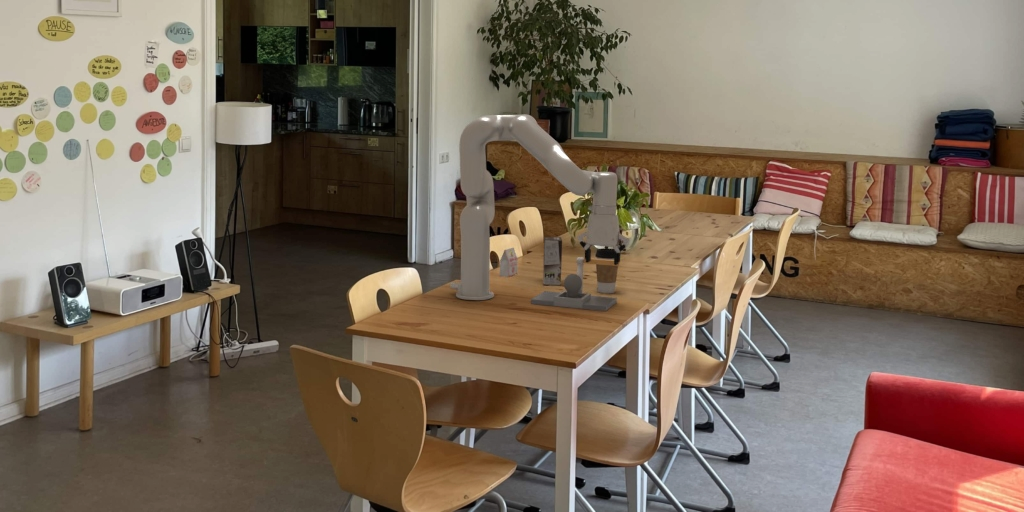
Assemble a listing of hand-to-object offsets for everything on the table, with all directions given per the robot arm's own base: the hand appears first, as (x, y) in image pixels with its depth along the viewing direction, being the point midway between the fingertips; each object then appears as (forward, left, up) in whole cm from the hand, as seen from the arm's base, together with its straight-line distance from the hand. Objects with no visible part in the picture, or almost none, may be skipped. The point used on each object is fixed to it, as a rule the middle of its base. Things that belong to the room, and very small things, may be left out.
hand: (602, 263), depth 308 cm
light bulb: (-8, -5, -14) cm, 17 cm away
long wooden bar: (-2, +3, -1) cm, 3 cm away
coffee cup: (-3, +19, -14) cm, 23 cm away
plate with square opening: (-8, -3, -13) cm, 16 cm away
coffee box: (-25, +26, -14) cm, 38 cm away
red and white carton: (-44, +32, -14) cm, 56 cm away
